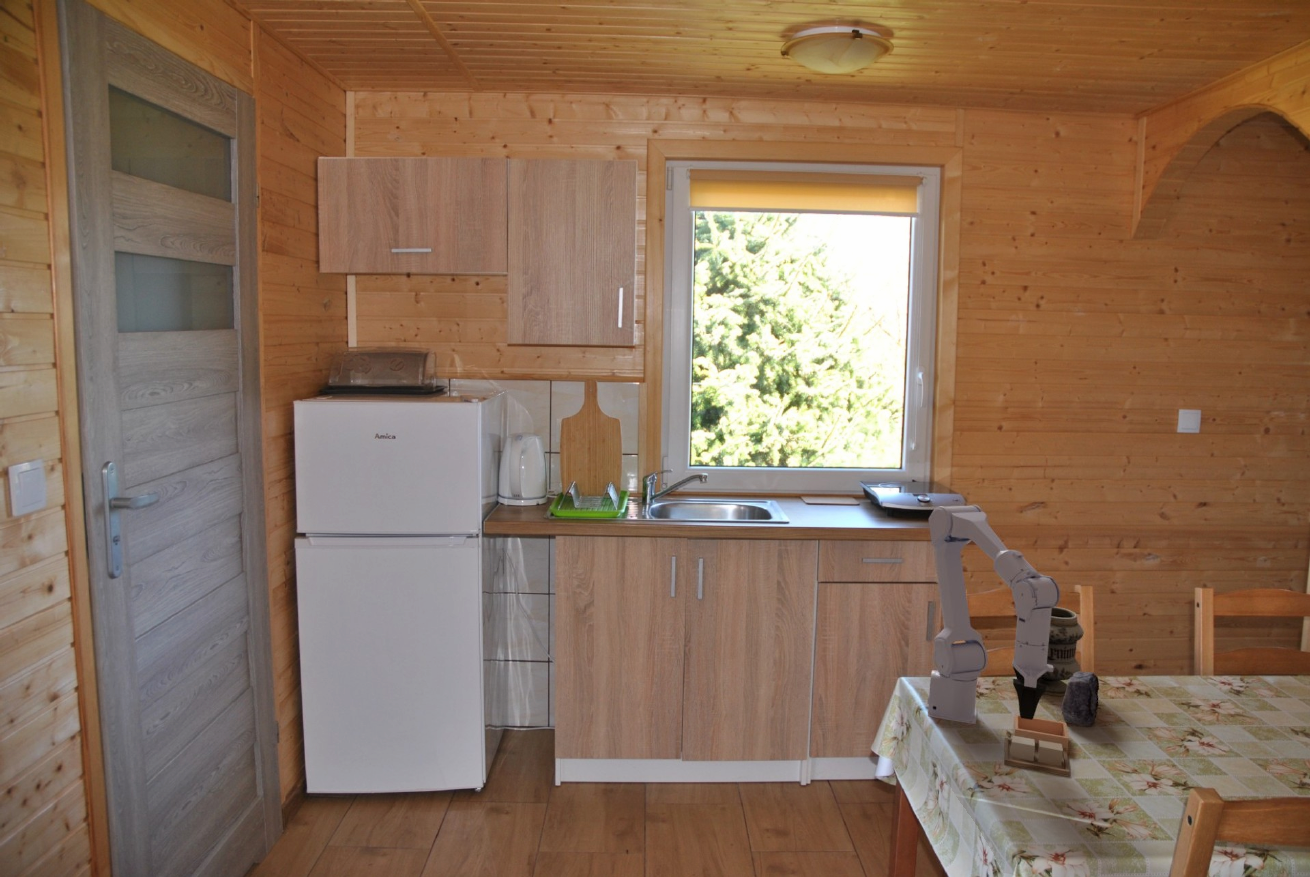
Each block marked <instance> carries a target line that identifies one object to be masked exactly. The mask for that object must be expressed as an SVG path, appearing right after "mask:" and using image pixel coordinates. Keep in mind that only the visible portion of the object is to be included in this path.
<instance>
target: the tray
mask: <svg viewBox="0 0 1310 877" xmlns="http://www.w3.org/2000/svg"><path fill="white" fill-rule="evenodd" d="M1011 740H1012V738H1007V737H1005V738H1004V765H1007V766H1011V767H1012V766H1013V767H1018V768H1023V769H1029V770H1034V771H1039V772H1045V773H1051V774H1056V775H1061V776H1066V777H1070V766H1069V758H1068V752H1067V751H1066V748H1063V755H1062V766H1057V765H1052V764H1046V763H1041V762H1038V746H1039V744H1038V743H1035V751H1034V761H1030V760H1025V759H1019V758H1014V757H1011Z"/></svg>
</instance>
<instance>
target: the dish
mask: <svg viewBox="0 0 1310 877" xmlns="http://www.w3.org/2000/svg"><path fill="white" fill-rule="evenodd" d="M1068 732H1069V730H1068V726H1067V722H1065V721H1064V722H1063V721H1059V720H1053V719H1048V718H1047V719H1045V718H1039V717H1035V716H1034V717H1033V719H1032V720H1030V719H1024V718H1021V717H1020V714H1017V713H1016V714H1015V713H1014V719H1013V736H1018V737H1024V738H1030V739H1034V740H1035V743H1038V744H1039V740H1041V741H1047V742H1053V743H1058V744H1062V748H1066V751H1067V753H1068V751H1069V740H1070V739H1069V733H1068Z"/></svg>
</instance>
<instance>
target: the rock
mask: <svg viewBox="0 0 1310 877" xmlns="http://www.w3.org/2000/svg"><path fill="white" fill-rule="evenodd" d="M1099 690H1100V683H1099V677H1098V676H1097V675H1096V674H1095V673H1094V672H1092V671H1088V672H1087V671H1086V672H1084V671H1081V670H1080V671H1079V672H1076V673H1074V675H1073V677H1071V678H1070V679H1068V681H1067V688H1066V692H1065V696H1063V699H1062V703H1061V707H1060V709H1061V715H1062V718H1063V720H1064V722H1065V723H1066V724H1067V723H1068V724H1072V725H1076V726H1077V725H1078V726H1079V727H1092V726H1093V725H1094V723H1095V721H1096V718H1097V714H1098V707H1099Z"/></svg>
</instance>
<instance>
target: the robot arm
mask: <svg viewBox="0 0 1310 877" xmlns="http://www.w3.org/2000/svg"><path fill="white" fill-rule="evenodd" d="M988 521H989V519H988V515H987V514H986V512H984V511H983V509H982V508H981V506H979V505H977V504H970V505H959V506H958V505H957V506H956V505H955V506H943V505H942V506H941V505H939V506H936V507H935V508H934V509H933V510H932V512H931V514H930V515H929V517H928V527H929V533H930V539H931V546H932V547H933V555H934V563H935V569H936V570H935V571H936V577H937V583H938V584H937V585H938V592H939V601H940V607H941V615H942V621H943V628H942V630H941V631H940V632H939V633H938V634H937V635H936V636H935V637H934V639H933V643H934V650H933V653H932V654H933V656H932V657H933V663H934V667H935V668H936V670H935V669H932V670H931V673H930V681H929V682H930V683H929V694H928V696H927V705H928V707H927V708H928V709H927V717H931V718H935V719H936V718H937V719H942V720H947V721H952V722H959V723H963V724H971V725H976V724H977V712H978V710H977V708H976V702H977V701H976V700H977V699H976V698H977V688H978V687H977V685H978V678H979V677H981V676H982V672H983V671H984V670H985V669H986V668H987V665H988V663H989V662H988V661H989V656H988V652H987V649H986V647H985V645H984V642H983V636H982V634H981V633H979V632H978V631H977V630H975V629H974V628H973V627H972V626H971V618H970V612H969V604H968V598H967V597H968V596H967V590H966V583H965V577H964V576H965V575H964V568H963V561H962V560H963V559H962V553H961V552H962V550H963V548H964V547H965V546H967V545H968V544H969V543H971V542H973V543H974V544H975V545H976V546H977V547H979V549H981V551H983V552H984V553H985V554H986V555H987V556H988V557H989V558H990V559H991V560H992V561H993V565H992V567H993V570H994V572H995V573H996V574H997V575H998V576H999V578H1001V579H1002V580H1003V581H1004V583H1005V584H1006V585H1007V586H1008V588H1010V589H1011V596H1012V599H1013V602H1014V605H1015V606H1014V612H1015V615H1016V618H1017V619H1016V631H1015V642H1014V654H1013V659H1012V663H1011V665H1012V669H1013V671H1014V673H1015V676H1016V678H1012V679H1013V680H1012V684H1013V688H1014V690H1015V692H1016V695H1017V701H1018V711H1019V715H1020V717H1021V718H1024V719H1030V720H1032V719H1033V717H1035V714H1036V711H1037V708H1038V704H1039V701H1040V700H1041V698H1042V696H1043V695H1045V694H1044V692H1045V691H1046V685H1040V684H1038V681H1039V679H1040V677H1041V676H1042V675H1043V674H1044V673H1045V672H1047V671H1049V672H1053V666H1052V665H1049V664H1047V655H1048V644H1049V633H1050V621H1051V610H1052V608H1051V607H1057V605H1059V602H1060V600H1061V590H1060V586H1059V585H1058V583H1057V582H1056V581H1055V579H1054V578H1053V577H1052V576H1049V575H1043V573H1039V572H1038V570H1037V569H1035V568H1034V567H1033V566H1032V565H1031V564H1030V563H1029V562H1028V560H1026V558H1025V557H1024V554H1023V553H1022V552H1021V551H1019V550H1017V549H1016V550H1015V549H1008V547H1006V545H1005V543H1004V542H1003V541H1002V540H1001V539H1000V538H999V536H998V535H997V534H996V533H995V531H994V530H993V529H992V527H991V526H990V525H989V524H988V523H989V522H988Z"/></svg>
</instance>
